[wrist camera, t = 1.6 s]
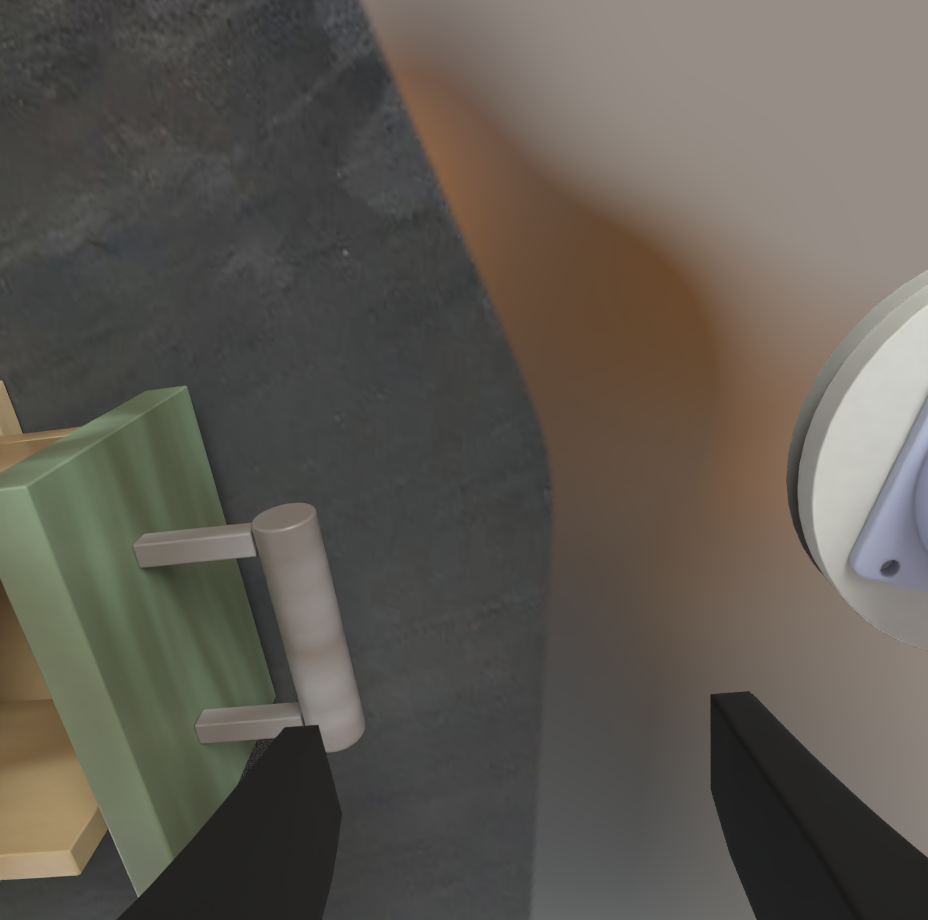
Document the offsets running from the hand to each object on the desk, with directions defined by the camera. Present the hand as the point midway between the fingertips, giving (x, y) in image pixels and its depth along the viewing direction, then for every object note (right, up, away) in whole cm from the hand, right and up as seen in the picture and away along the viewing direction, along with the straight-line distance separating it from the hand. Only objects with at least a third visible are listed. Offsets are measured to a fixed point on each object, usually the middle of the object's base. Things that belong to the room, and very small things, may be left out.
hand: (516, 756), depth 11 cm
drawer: (-12, +2, +9) cm, 15 cm away
